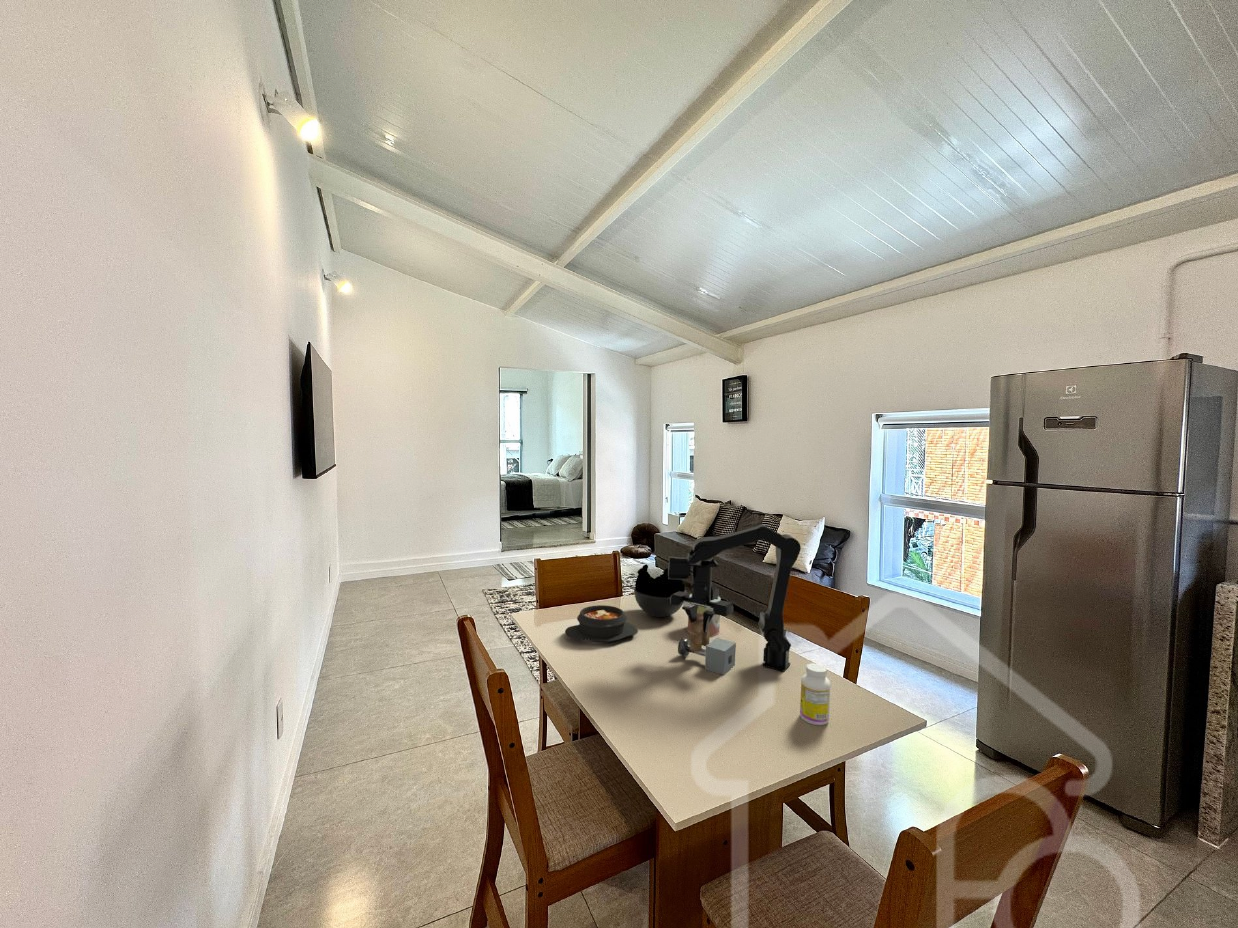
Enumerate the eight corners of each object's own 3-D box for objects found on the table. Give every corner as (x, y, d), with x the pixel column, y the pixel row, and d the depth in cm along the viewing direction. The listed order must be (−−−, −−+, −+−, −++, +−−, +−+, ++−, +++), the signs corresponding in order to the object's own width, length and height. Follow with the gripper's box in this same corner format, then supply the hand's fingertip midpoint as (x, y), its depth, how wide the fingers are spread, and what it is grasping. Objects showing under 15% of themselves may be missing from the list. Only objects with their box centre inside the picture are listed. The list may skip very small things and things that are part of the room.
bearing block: (734, 665, 152) (735, 642, 152) (724, 674, 146) (724, 651, 146) (716, 659, 156) (717, 637, 156) (705, 669, 149) (705, 645, 149)
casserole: (571, 650, 160) (571, 624, 160) (560, 629, 178) (560, 605, 177) (645, 643, 167) (646, 618, 167) (627, 623, 185) (628, 600, 185)
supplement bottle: (805, 708, 129) (807, 658, 128) (832, 718, 124) (834, 666, 124) (795, 719, 123) (798, 667, 123) (823, 729, 119) (826, 676, 119)
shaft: (723, 662, 153) (724, 646, 153) (716, 668, 149) (717, 651, 149) (685, 651, 160) (685, 635, 160) (677, 656, 156) (678, 640, 156)
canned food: (710, 639, 172) (711, 604, 172) (681, 630, 179) (682, 597, 179) (725, 629, 181) (726, 596, 181) (697, 622, 188) (698, 590, 188)
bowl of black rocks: (696, 619, 191) (698, 570, 190) (653, 628, 181) (654, 576, 180) (664, 604, 208) (666, 558, 207) (623, 611, 198) (624, 564, 197)
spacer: (709, 644, 157) (709, 619, 156) (698, 652, 151) (699, 625, 151) (700, 642, 158) (701, 617, 158) (689, 649, 153) (690, 623, 152)
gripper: (741, 580, 155) (739, 630, 156) (686, 570, 166) (685, 617, 166) (726, 588, 146) (724, 641, 147) (669, 577, 157) (668, 626, 157)
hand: (700, 630), depth 155 cm, fingers closed on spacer, 3 cm apart
